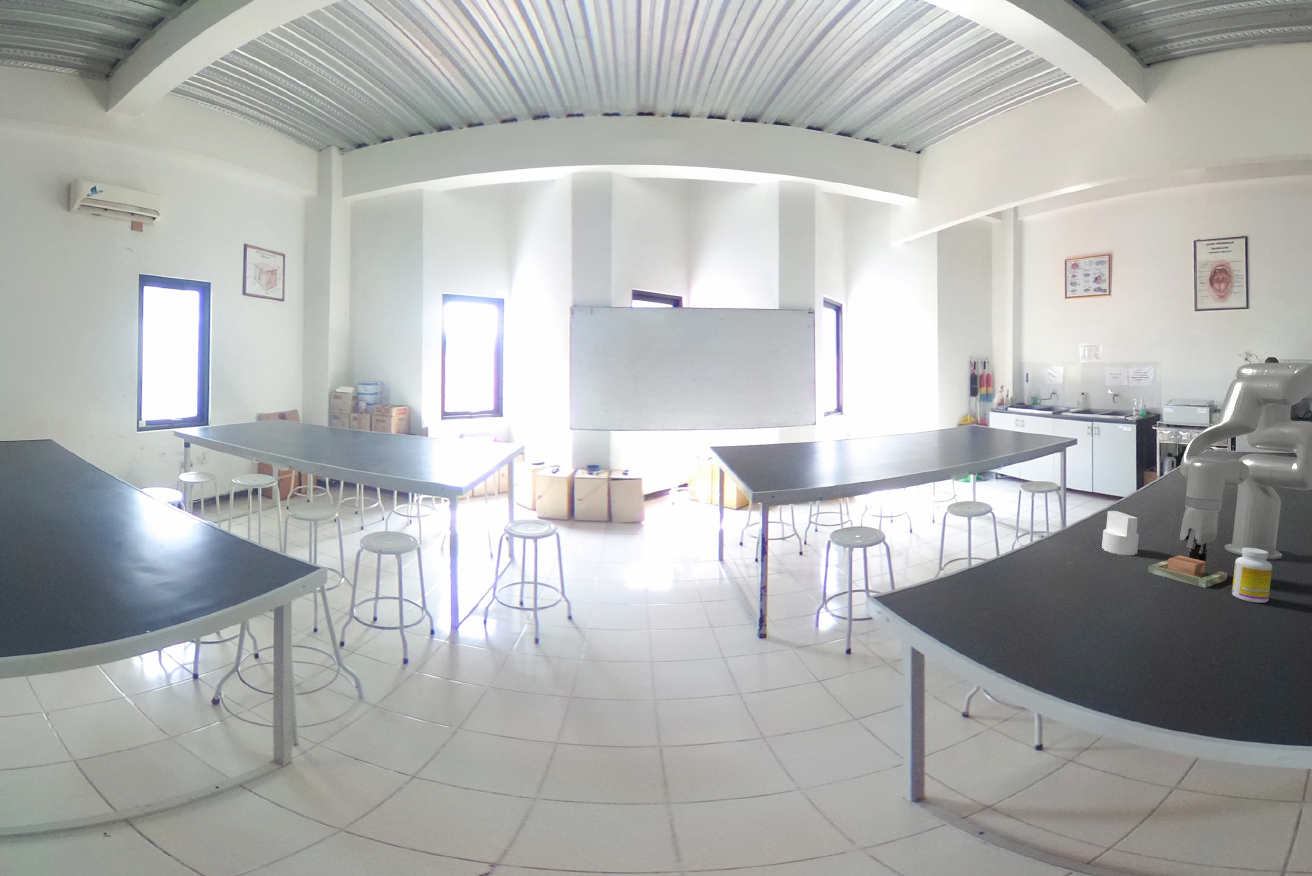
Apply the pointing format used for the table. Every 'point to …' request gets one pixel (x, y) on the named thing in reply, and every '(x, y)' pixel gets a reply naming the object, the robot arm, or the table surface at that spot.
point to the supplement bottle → (1252, 576)
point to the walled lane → (1186, 575)
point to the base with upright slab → (1120, 534)
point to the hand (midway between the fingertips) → (1196, 565)
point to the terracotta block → (1187, 566)
